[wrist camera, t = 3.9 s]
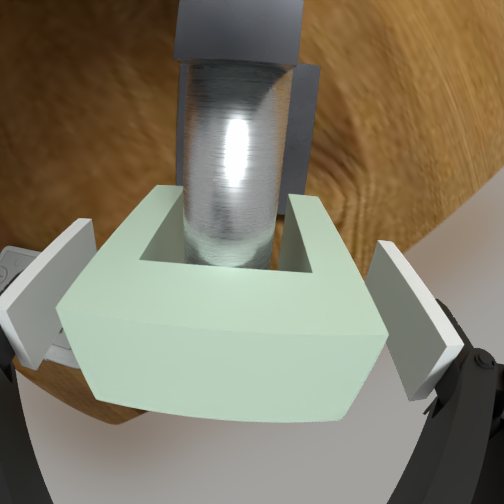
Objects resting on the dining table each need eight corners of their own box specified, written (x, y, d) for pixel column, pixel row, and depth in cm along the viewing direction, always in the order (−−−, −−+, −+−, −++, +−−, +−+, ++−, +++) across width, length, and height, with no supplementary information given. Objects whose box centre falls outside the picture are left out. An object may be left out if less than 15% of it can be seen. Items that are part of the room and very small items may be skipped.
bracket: (160, 254, 16) (96, 399, 8) (156, 185, 14) (55, 307, 6) (305, 265, 17) (341, 420, 8) (317, 196, 15) (389, 334, 6)
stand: (180, 225, 26) (103, 403, 11) (185, 55, 19) (37, -5, 4) (294, 233, 27) (338, 422, 11) (316, 65, 20) (462, 19, 4)
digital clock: (125, 266, 29) (82, 341, 19) (117, 326, 33) (86, 397, 24) (7, 218, 26) (-52, 268, 16) (12, 279, 30) (-32, 332, 21)
